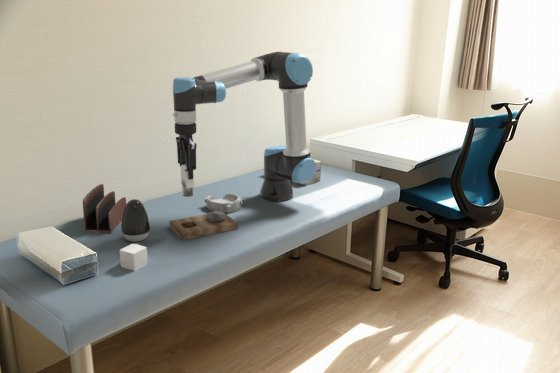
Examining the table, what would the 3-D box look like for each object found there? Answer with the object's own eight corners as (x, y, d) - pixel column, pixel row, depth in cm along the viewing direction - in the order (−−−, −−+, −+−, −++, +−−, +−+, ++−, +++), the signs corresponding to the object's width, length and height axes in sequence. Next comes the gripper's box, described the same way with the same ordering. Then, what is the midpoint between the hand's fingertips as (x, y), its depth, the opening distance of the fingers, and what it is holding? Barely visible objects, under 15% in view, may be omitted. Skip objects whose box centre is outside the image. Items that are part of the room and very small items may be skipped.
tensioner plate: (221, 218, 210) (221, 203, 208) (237, 229, 199) (237, 214, 197) (169, 228, 199) (168, 213, 197) (183, 241, 188) (182, 225, 186)
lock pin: (190, 192, 194) (189, 162, 191) (195, 195, 191) (194, 165, 187) (180, 194, 192) (179, 164, 189) (184, 197, 189) (183, 166, 185)
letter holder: (84, 232, 194) (81, 197, 189) (103, 214, 213) (100, 181, 208) (111, 233, 193) (108, 198, 189) (127, 214, 212) (125, 181, 208)
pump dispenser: (122, 246, 183) (118, 205, 178) (121, 235, 192) (118, 196, 187) (151, 243, 185) (149, 203, 181) (150, 232, 195) (148, 194, 190)
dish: (200, 208, 222) (200, 197, 220) (225, 200, 231) (225, 190, 230) (222, 217, 212) (222, 205, 210) (247, 209, 221) (247, 198, 220)
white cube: (133, 259, 173) (132, 243, 171) (147, 264, 170) (146, 247, 169) (120, 266, 168) (119, 249, 166) (134, 271, 165) (133, 253, 163)
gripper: (166, 119, 188) (169, 180, 195) (184, 127, 175) (186, 193, 182) (186, 117, 192) (188, 178, 199) (205, 125, 178) (206, 190, 186)
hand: (187, 185), depth 190 cm, fingers closed on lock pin, 4 cm apart
